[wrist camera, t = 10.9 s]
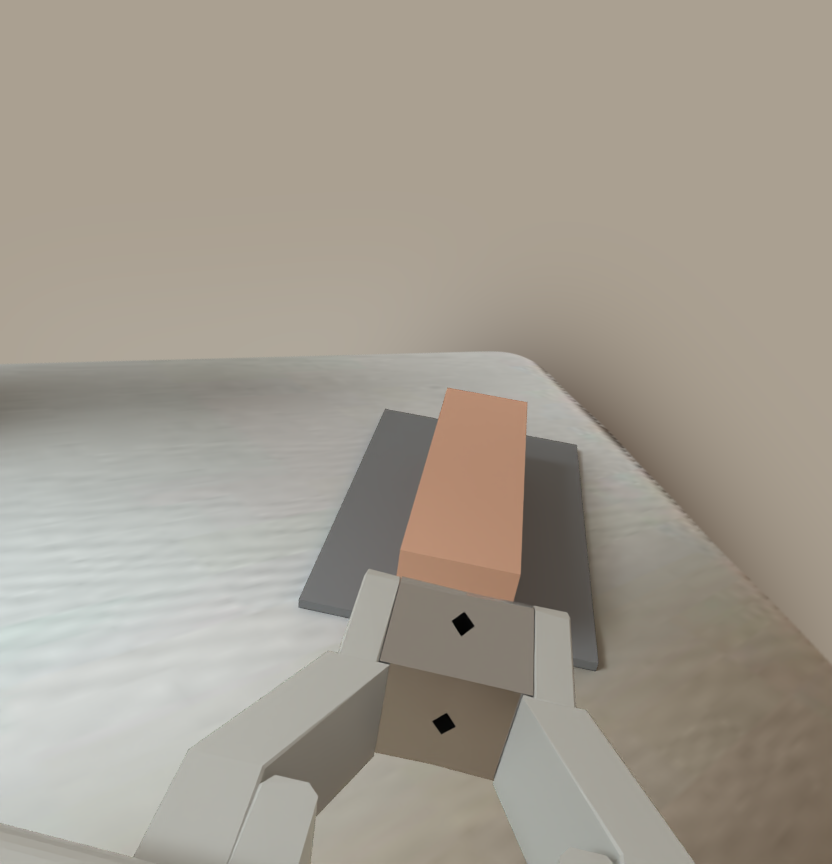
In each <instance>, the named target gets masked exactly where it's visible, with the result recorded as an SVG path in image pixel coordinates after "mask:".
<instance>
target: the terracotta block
mask: <svg viewBox="0 0 832 864" xmlns="http://www.w3.org/2000/svg"><path fill="white" fill-rule="evenodd" d="M526 423H527V402H523V401H517V400H512V399H506V398H501V397H496V396H490V395H485V394H479V393H474V392H468V391H463V390H458V389H452V388H447V391H446V394H445V398H444V401H443V405H442V408H441V412H440V415H439V418H438V422H437V425H436V429H435V432H434V436H433V439H432V442H431V446H430V449H429V453H428V456H427V460H426V463H425V466H424V470H423V473H422V477H421V480H420V484H419V487H418V490H417V494H416V497H415V501H414V504H413V508H412V511H411V514H410V518H409V521H408V525H407V528H406V532H405V535H404V538H403V542H402V545H401V549H400V554H399V561H398V568H397V575H396V576H399V577H401V578H402V576H403V577H407V578H411V579H415V580H419V581H423V582H427V583H432V584H436V585H440V586H444V587H448V588H452V589H456V590H460V591H464V592H470V593H475V594H480V595H484V596H489V597H494V598H498V599H503V600H508V601H514V598H515V594H516V590H517V586H518V583H519V579H520V575H521V552H522V526H523V501H524V475H525V449H526Z"/></svg>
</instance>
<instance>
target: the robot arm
mask: <svg viewBox="0 0 832 864" xmlns="http://www.w3.org/2000/svg"><path fill="white" fill-rule="evenodd" d="M374 752H376V753H380V754H385V755H390V756H395V757H399V758H404V759H409V760H414V761H419V762H423V763H428V764H433V765H437V766H440V767H444V768H448V769H451V770H455V771H459V772H463V773H466V774H470V775H474V776H477V777H481V778H485V779H489V780H492V781H493V786H494V788H495V790H496V793H497V795H498V797H499V800H500V802H501V804H502V807H503V809H504V811H505V814H506V816H507V818H508V821H509V823H510V825H511V827H512V830H513V832H514V834H515V837H516V839H517V841H518V844H519V846H520V848H521V851H522V853H523V855H524V858H525V860H526V862H527V864H695V862H694V861H693V860H692V858H691V857H690V855H689V854H688V853H687V851H686V850H685V848H684V847H683V845H682V844H681V843H680V841H679V840H678V838H677V837H676V836H675V834H674V833H673V831H672V830H671V829H670V827H669V826H668V824H667V823H666V821H665V820H664V819H663V817H662V816H661V814H660V813H659V812H658V810H657V809H656V807H655V806H654V805H653V803H652V802H651V800H650V799H649V797H648V796H647V795H646V793H645V792H644V790H643V789H642V788H641V786H640V785H639V783H638V782H637V781H636V779H635V778H634V776H633V775H632V773H631V772H630V771H629V769H628V768H627V766H626V765H625V764H624V762H623V761H622V759H621V758H620V757H619V755H618V754H617V752H616V751H615V749H614V748H613V747H612V745H611V744H610V742H609V741H608V740H607V738H606V737H605V735H604V734H603V733H602V731H601V730H600V728H599V727H598V725H597V724H596V723H595V721H594V720H593V718H592V717H591V716H590V714H589V713H588V711H587V710H584V709H580V708H576V702H575V685H574V669H573V653H572V636H571V620H570V617H569V615H568V613H567V612H563V611H558V610H553V609H548V608H543V607H538V606H533V607H532V606H531V605H527V604H522V603H517V602H513V601H508V600H503V599H498V598H494V597H489V596H484V595H480V594H475V593H470V592H464V591H460V590H456V589H452V588H448V587H444V586H440V585H436V584H432V583H427V582H423V581H419V580H415V579H411V578H407V577H403V576H402V578H401V577H399V576H395V575H391V574H387V573H384V572H380V571H376V570H372V569H368V571H367V572H366V574H365V575H364V578H363V581H362V584H361V587H360V590H359V593H358V596H357V599H356V601H355V604H354V607H353V610H352V613H351V616H350V619H349V622H348V625H347V628H346V631H345V634H344V637H343V640H342V643H341V646H340V649H339V652H338V653H337V652H332V651H327V652H325V653H324V654H323V655H321V656H320V657H318V658H317V659H316V660H314V661H313V662H311V663H310V664H308V665H307V666H306V667H304V668H303V669H301V670H300V671H299V672H297V673H296V674H294V675H293V676H292V677H290V678H289V679H287V680H286V681H284V682H283V683H282V684H280V685H279V686H277V687H276V688H275V689H273V690H272V691H270V692H269V693H268V694H266V695H265V696H263V697H262V698H260V699H259V700H258V701H256V702H255V703H253V704H252V705H251V706H249V707H248V708H246V709H245V710H244V711H242V712H241V713H239V714H238V715H236V716H235V717H234V718H232V719H231V720H229V721H228V722H227V723H225V724H224V725H222V726H221V727H220V728H218V729H217V730H215V731H214V732H212V733H211V734H210V735H208V736H207V737H205V738H204V739H203V740H201V741H200V742H198V743H197V744H195V745H194V746H193V747H191V748H190V749H188V751H187V753H186V755H185V757H184V759H183V761H182V763H181V765H180V767H179V769H178V771H177V773H176V775H175V777H174V778H173V780H172V782H171V784H170V786H169V788H168V790H167V792H166V794H165V796H164V798H163V800H162V802H161V804H160V806H159V808H158V810H157V812H156V813H155V815H154V817H153V819H152V821H151V823H150V825H149V827H148V829H147V831H146V833H145V835H144V837H143V839H142V841H141V843H140V845H139V847H138V849H137V850H136V852H135V854H134V856H133V857H130V856H127V855H123V854H119V853H115V852H111V851H107V850H103V849H99V848H95V847H92V846H88V845H84V844H80V843H76V842H72V841H68V840H64V839H61V838H57V837H53V836H49V835H45V834H41V833H37V832H33V831H29V830H26V829H22V828H18V827H14V826H10V825H6V824H2V823H0V864H311V856H312V847H313V838H314V829H315V820H316V816H317V815H318V814H319V813H320V812H321V811H322V810H323V809H324V808H325V807H326V806H327V805H328V804H329V803H330V802H331V801H332V799H333V798H334V797H335V796H336V795H337V794H338V793H339V792H340V791H341V790H342V789H343V788H344V787H345V786H346V785H347V784H348V783H349V782H350V781H351V780H352V778H353V777H354V776H355V775H356V774H357V773H358V772H359V771H360V770H361V769H362V768H363V767H364V766H365V765H366V764H367V763H368V762H369V761H370V760H371V758H372V757H373V756H374Z"/></svg>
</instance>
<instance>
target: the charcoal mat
mask: <svg viewBox="0 0 832 864" xmlns="http://www.w3.org/2000/svg"><path fill="white" fill-rule="evenodd" d="M437 422H438V419H436V418H431V417H425V416H420V415H415V414H409V413H404V412H399V411H393V410H388V409H385V411H384V413H383V415H382V417H381V419H380V422H379V424H378V426H377V428H376V430H375V433H374V435H373V437H372V439H371V442H370V444H369V446H368V448H367V450H366V453H365V455H364V457H363V459H362V461H361V464H360V466H359V468H358V470H357V472H356V475H355V477H354V479H353V481H352V483H351V486H350V488H349V490H348V492H347V494H346V497H345V499H344V501H343V503H342V505H341V508H340V510H339V512H338V514H337V517H336V519H335V521H334V523H333V525H332V528H331V530H330V532H329V534H328V536H327V539H326V541H325V543H324V545H323V547H322V550H321V552H320V554H319V556H318V558H317V561H316V563H315V565H314V567H313V569H312V572H311V574H310V576H309V578H308V580H307V583H306V585H305V587H304V589H303V592H302V594H301V596H300V598H299V607H300V608H305V609H310V610H314V611H319V612H324V613H328V614H333V615H337V616H342V617H347V618H350V616H351V613H352V610H353V607H354V604H355V601H356V599H357V596H358V593H359V590H360V587H361V584H362V581H363V578H364V575H365V574H366V572H367V571H368V569H372V570H376V571H380V572H384V573H387V574H391V575H395V576H396V575H397V568H398V561H399V554H400V549H401V545H402V542H403V538H404V535H405V532H406V528H407V525H408V521H409V518H410V514H411V511H412V508H413V504H414V501H415V497H416V494H417V490H418V487H419V484H420V480H421V477H422V473H423V470H424V466H425V463H426V460H427V456H428V453H429V449H430V446H431V442H432V439H433V436H434V432H435V429H436V425H437ZM513 602H517V603H522V604H527V605H531V606H532V607H533V606H538V607H543V608H548V609H553V610H558V611H563V612H567V613H568V615H569V617H570V620H571V636H572V653H573V666H575V667H580V668H584V669H589V670H594V671H596V669H597V666H598V654H597V644H596V634H595V624H594V614H593V604H592V594H591V584H590V574H589V564H588V554H587V544H586V534H585V524H584V514H583V504H582V494H581V484H580V474H579V464H578V454H577V445H575V444H569V443H564V442H559V441H553V440H548V439H543V438H537V437H532V436H527V435H526V449H525V475H524V501H523V526H522V552H521V575H520V579H519V583H518V586H517V590H516V594H515V598H514V601H513Z"/></svg>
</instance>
